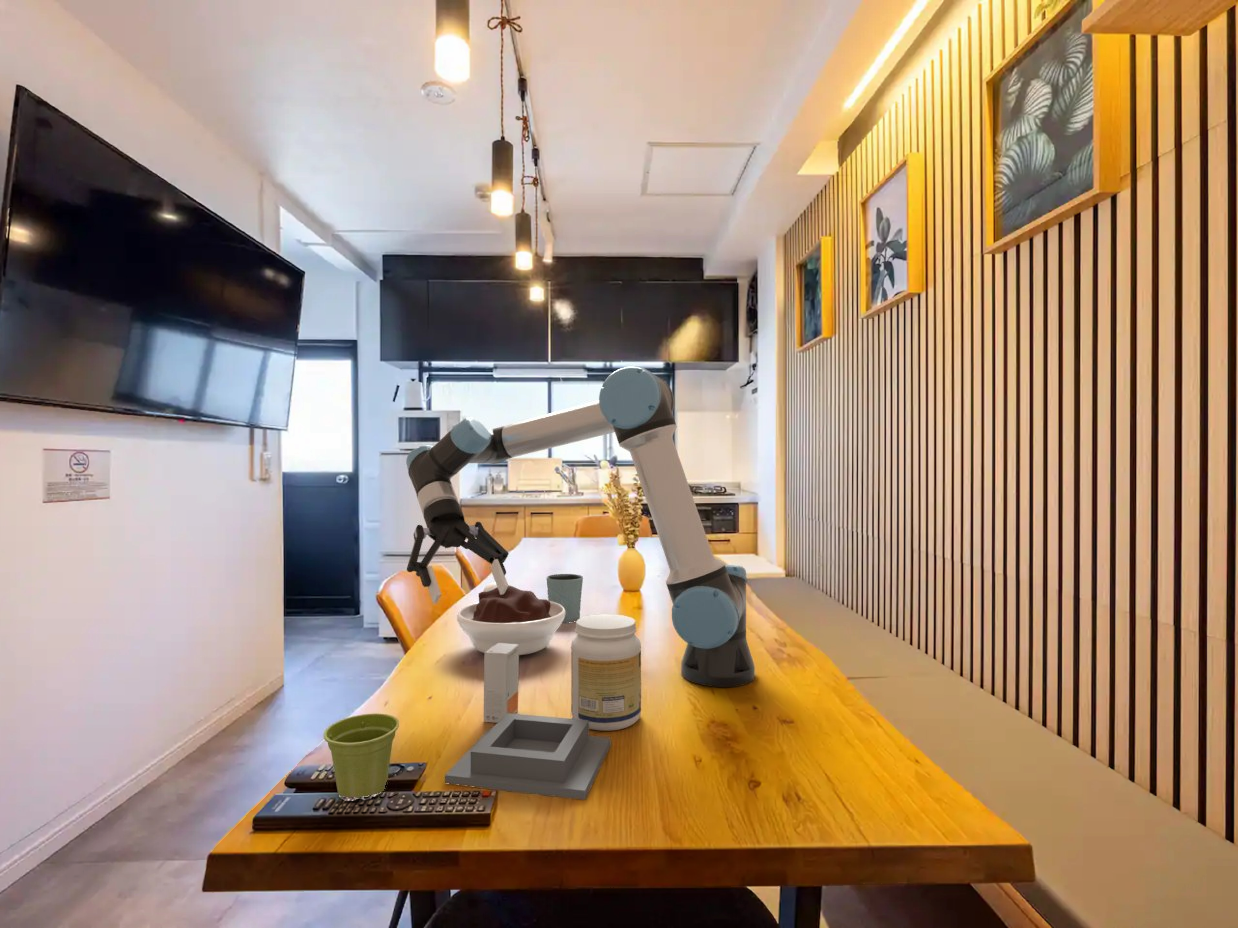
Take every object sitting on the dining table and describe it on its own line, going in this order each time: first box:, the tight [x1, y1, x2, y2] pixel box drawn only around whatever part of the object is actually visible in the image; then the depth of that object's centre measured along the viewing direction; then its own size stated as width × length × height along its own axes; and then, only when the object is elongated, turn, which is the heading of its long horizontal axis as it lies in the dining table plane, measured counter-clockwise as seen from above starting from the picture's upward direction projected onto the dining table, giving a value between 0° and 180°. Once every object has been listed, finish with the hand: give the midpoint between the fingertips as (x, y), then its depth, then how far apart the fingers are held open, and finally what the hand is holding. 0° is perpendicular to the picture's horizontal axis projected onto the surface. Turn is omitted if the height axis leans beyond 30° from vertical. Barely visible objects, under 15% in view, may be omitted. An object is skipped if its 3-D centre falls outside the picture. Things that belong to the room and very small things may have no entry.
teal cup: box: [546, 573, 584, 624], centre depth 176 cm, size 10×10×12 cm
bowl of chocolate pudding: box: [456, 584, 566, 656], centre depth 147 cm, size 25×25×15 cm
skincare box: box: [483, 643, 520, 724], centre depth 109 cm, size 6×4×12 cm
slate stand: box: [444, 713, 612, 801], centre depth 92 cm, size 20×16×4 cm
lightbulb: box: [482, 581, 497, 592], centre depth 172 cm, size 6×6×11 cm
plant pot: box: [323, 712, 400, 797], centre depth 85 cm, size 9×9×9 cm
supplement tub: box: [570, 613, 642, 732], centre depth 109 cm, size 12×12×17 cm
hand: (472, 594), depth 118 cm, fingers open, 13 cm apart
